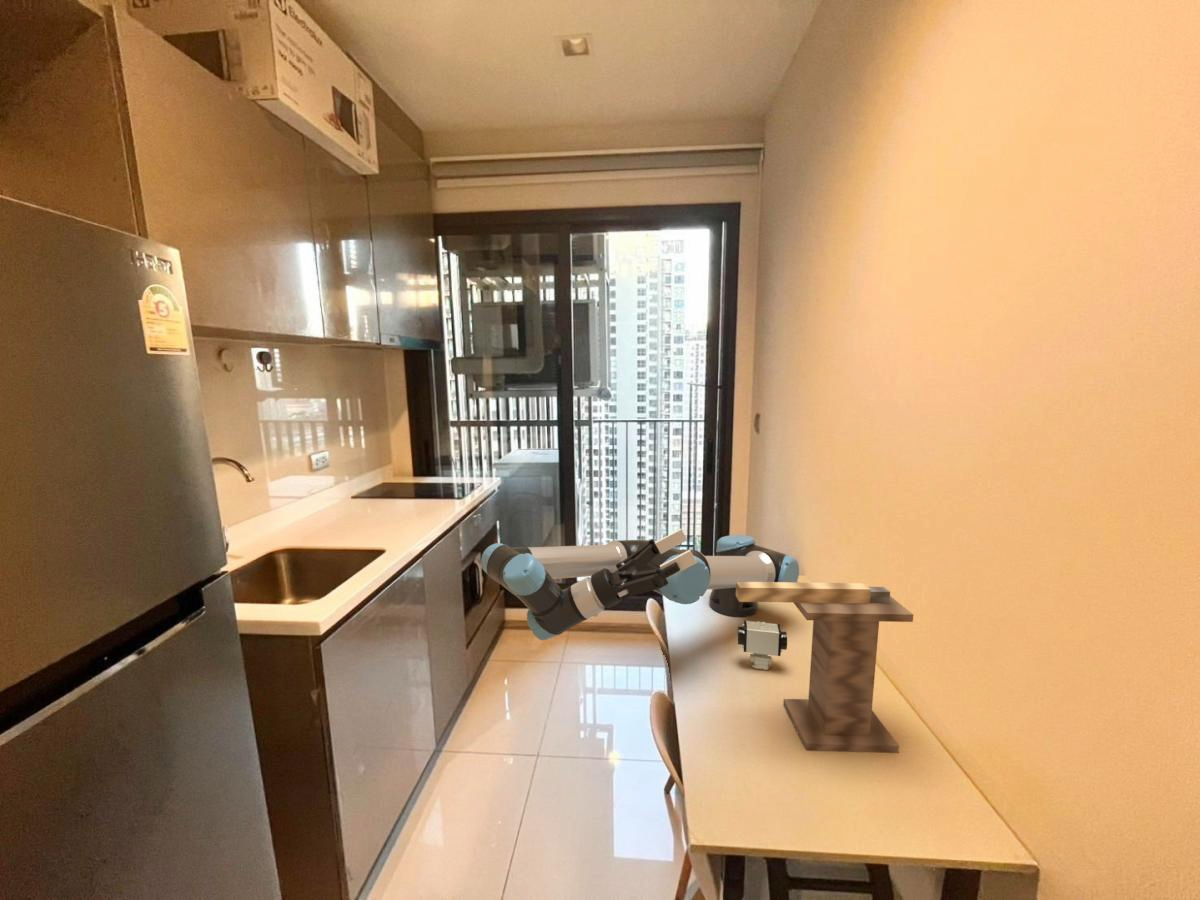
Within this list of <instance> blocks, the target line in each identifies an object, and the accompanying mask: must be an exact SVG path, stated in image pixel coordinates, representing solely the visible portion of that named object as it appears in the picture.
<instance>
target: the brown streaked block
mask: <svg viewBox="0 0 1200 900" xmlns="http://www.w3.org/2000/svg"><path fill="white" fill-rule="evenodd" d="M890 596H891V591H890V590H889V589H887V588H886V587H885V586H868V585H866V584H865V583H863V582H862V583H861V582H860V583H859V582H856V583H855V582H798V581H797V582H736V597H737V599H738V601H739V602H758V603H793V604H794V603H863V604H870V603H889V602H890Z"/></svg>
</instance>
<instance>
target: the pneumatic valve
mask: <svg viewBox="0 0 1200 900" xmlns="http://www.w3.org/2000/svg"><path fill="white" fill-rule="evenodd" d="M737 645H740V646H742V649H743V652H744V653H750V654H749V664H750V665H752V668H755V669H756V670H762V669H763V670H764V671H768V670H770V669H769V668H770V667H772V666H773V659H772V656H775V657H781V656H782V655H781V654H782V653H783V651H786V650H787V649H788V634H787V631H783V630H782V628H781V625H780V624H779V623H770V622H765V621H760V620H758V621H753V620H743V623H742V626H737ZM755 669H754V670H755Z"/></svg>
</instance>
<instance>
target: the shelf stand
mask: <svg viewBox="0 0 1200 900" xmlns="http://www.w3.org/2000/svg"><path fill="white" fill-rule="evenodd" d="M793 604H794V606H795V607H796V608H797V609H798V611H799V612H800V613H801V615H802V616H803V618H805V620H806V621H813V622H812V637H811V639H812V640H811V641H812V642H811V655H810V668H809V669H810V670H809V683H808V698H807V699H806V698H805V699H804V698H784V699H783V704H782V705H783V707H784V709H785V711H786V714H787V715H788V717H789V719H790V721H791V723H792V725H793V727H794V729H795V728H796V729H795V731H796V733H797V732H798V733H797V735H798V738H799V739H800V741H801V742H802V743H801V744H802V745H803V747H804V749H805V751H812V750H814V751H815V750H816V751H817V752H818V750H819V752H820V751H821V752H856V753H857V752H858V753H860V752H861V753H862V752H863V753H865V752H866V753H898V754H899V752H900V745H899V744H898V742H897V741H896V740H895V738H894V737H893V736H892V734H891V733H890V732H889V730H888V729H887V728H886V726H885V725H884V724H883V723H882V721H881V720H880V719H879V717H878V716H877V714H876V713H875V712H874V710H873V701H874V700H873V699H874V689H875V687H874V686H875V679H876V677H875V674H876V665H877V652H878V641H879V640H878V639H879V630H880V629H879V628H880V622H888V623H889V622H895V623H899V622H901V623H913V622H914V614H913V613H912V612H911V611H910V610H908V609H907V608H906V607H904V606H903V605H902V603H900V602H899V601H897V600H896V599H895V598H893V597H892V596H891V595H890V602H889V603H870V604H863V603H793ZM816 751H815V752H816Z"/></svg>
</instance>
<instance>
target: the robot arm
mask: <svg viewBox="0 0 1200 900" xmlns="http://www.w3.org/2000/svg"><path fill="white" fill-rule="evenodd" d="M687 541H688V538H687V536H686V534H685V533H684V531H683V529H682V528H679V529H677V530H675V531H674V532H672V533H670V534H668V535H666V536H665V537H662V538H660V539H658V540H657V541H654V539H652V538H651V539H649V540H646V539H629V540H628V539H624V540H621V539H620V540H611V541H610V542H608V543H607V544H594V545H593V544H592V545H590V544H589V545H587V544H586V545H563V546H562V545H560V546H559V545H558V546H532V547H531V546H530V547H528V546H527V547H526V546H524V547H522V546H520V547H519V546H517V547H510V546H509V545H508V544H503V543H501V542H500V543H499V542H497V543H493V544H491V545H489V546H488V547H487V548H486V549H484V551H483V552H482V555H481V559H480V564H481V568H482V570H483V571H484V572H485V573H486V574H487V576H488V577H489V578H490V579H492V580H494V581H495V582H496V583H497V584H499V585H501V586H502V587H503V588H505V589H506V590H507V591H508V592H510V593H511V594H512V595H514V597H517V598H518V599H519V600H520V601H521V602H522V603H523V604H524V606H525V607H527V608H528V610H527V611H526V620H527V624H528V627H529V629H530V630H531V632H532V633H533V635H534V636H535V638H537V639H538V640H539V641H546V640H549V639H552V638H554V637H557V636H560V635H561V634H563V633H565V632H566V631H569V629H571V628H573V627H575V626H577V625H579V624H581V623H582V622H584V621H586V620H588V619H591V618H592V617H594V618H596V617H598V615H599V614H600V613H602V612H603V611H605V608H606V609H610V608H611V607H613V606H616V605H618V604H620V603H621V602H622V601H624V600H626V599H628V598H630V597H634V596H636V595H641V594H643V593H648V592H652V591H654V592H655V593H658V594H660V595H661V596H664V597H665V598H666V599H668V600H669V601H671V602H674V603H678V604H681V605H691V604H694V603H696V602H697V601H699V600H700V597H704V595H705V594H706V592H707V590H711V592H710V594H709V597H708V598H709V601H708V604H709V607H710V608H711V609H712V610H713V611H715V612H716V613H719V614H722V615H725V616H729V617H737V618H738V617H739V618H740V617H741V618H742V617H748V616H752V615H754V614H756V613H757V612H758V610H759V609H758V608H759V607H758V605H759V602H739V601H738V599H737V597H736V582H798V580H799V576H800V566H799V562H798V560H797V559H796V558H795V557H794V556H791V555H789V554H787V553H782V552H780V551H777V550H773V549H769V548H767V547H764V546H760V545H758V544H757V545H756V540H755V538H754V537H753V536H750V535H747V534H746V535H745V534H743V535H742V534H732V535H731V534H730V535H726V536H722V537H720V538H719V539H718V540H717V541H716V550H715V555H704V554H703V553H702V552H701V551H699V550H695V549H677V548H675V547H677V546H679V545H681V544H683V543H685V542H687ZM569 578H583V579H581V580H579V581H578V582H575V583H573V584H572V585H571V586H569V587H567V588H565V589H562V588H561V586H559V585H558V584H557V582H556V581H555V580H556V579H569Z"/></svg>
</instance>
